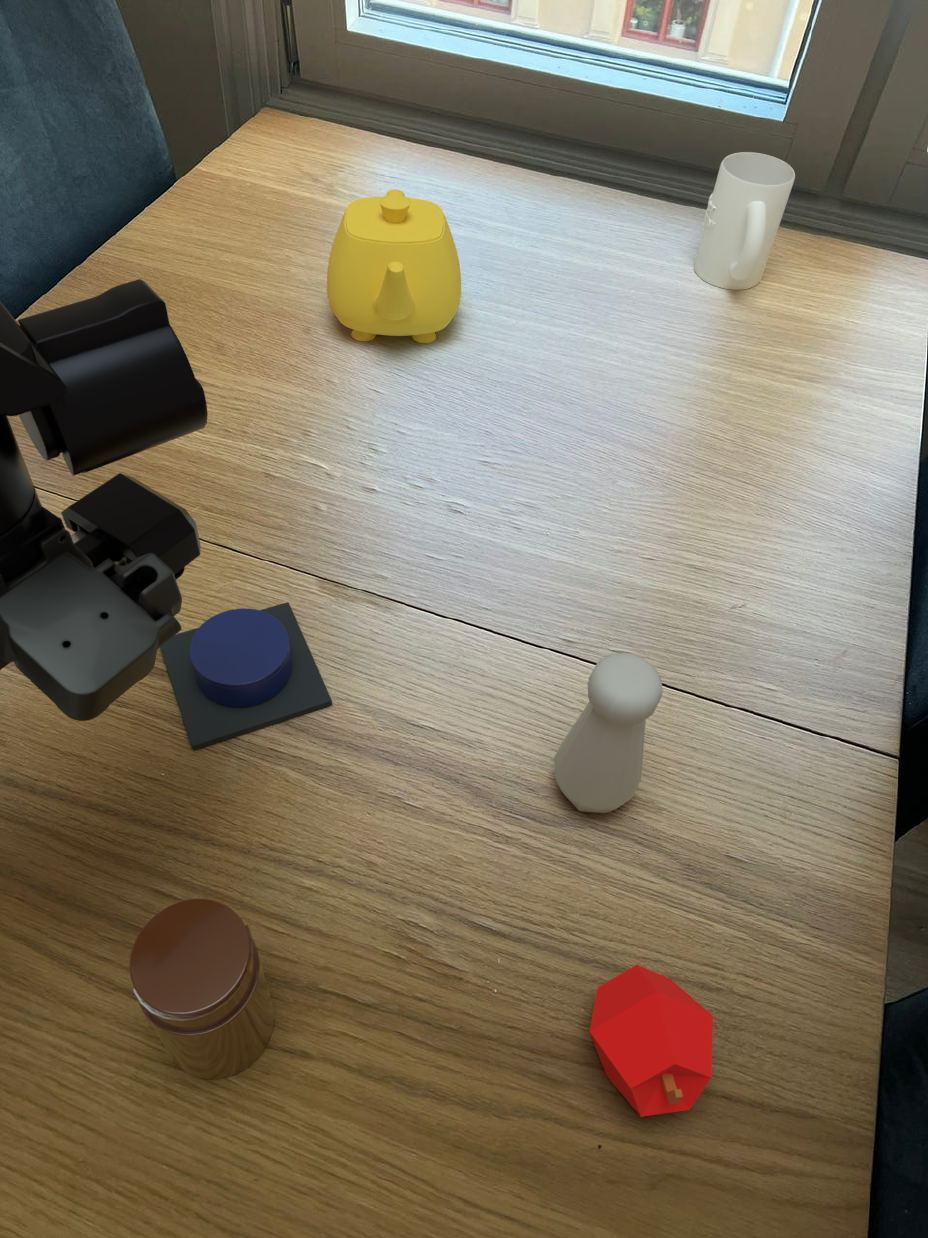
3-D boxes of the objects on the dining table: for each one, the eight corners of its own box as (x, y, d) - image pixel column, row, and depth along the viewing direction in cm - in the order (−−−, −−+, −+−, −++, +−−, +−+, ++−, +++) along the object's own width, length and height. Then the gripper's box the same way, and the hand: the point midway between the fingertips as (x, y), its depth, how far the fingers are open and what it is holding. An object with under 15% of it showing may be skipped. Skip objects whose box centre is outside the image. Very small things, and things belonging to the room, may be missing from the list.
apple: (587, 934, 52) (630, 1064, 45) (699, 939, 53) (757, 1065, 46) (555, 1018, 55) (591, 1151, 48) (661, 1021, 56) (711, 1150, 49)
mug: (698, 305, 104) (728, 199, 95) (688, 251, 112) (715, 148, 103) (771, 312, 104) (808, 207, 95) (756, 257, 112) (789, 155, 103)
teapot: (456, 277, 105) (463, 161, 95) (463, 385, 92) (472, 265, 82) (332, 272, 104) (327, 155, 94) (322, 381, 91) (314, 259, 81)
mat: (193, 751, 64) (191, 746, 63) (159, 644, 69) (157, 639, 69) (332, 705, 67) (332, 700, 66) (289, 606, 72) (288, 601, 72)
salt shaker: (534, 765, 65) (561, 650, 55) (607, 740, 66) (645, 624, 56) (573, 837, 61) (610, 729, 51) (648, 809, 63) (697, 698, 53)
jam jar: (179, 1099, 50) (140, 1041, 42) (154, 993, 53) (113, 921, 45) (288, 1051, 52) (270, 987, 44) (256, 952, 55) (234, 876, 47)
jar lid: (275, 621, 71) (271, 596, 68) (306, 688, 67) (304, 665, 65) (184, 649, 68) (177, 625, 66) (211, 721, 64) (205, 698, 62)
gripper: (-130, 757, 31) (14, 935, 43) (261, 469, 41) (289, 678, 53) (-309, 600, 35) (-131, 804, 47) (90, 372, 45) (153, 587, 57)
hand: (62, 713), depth 51 cm, fingers open, 9 cm apart
